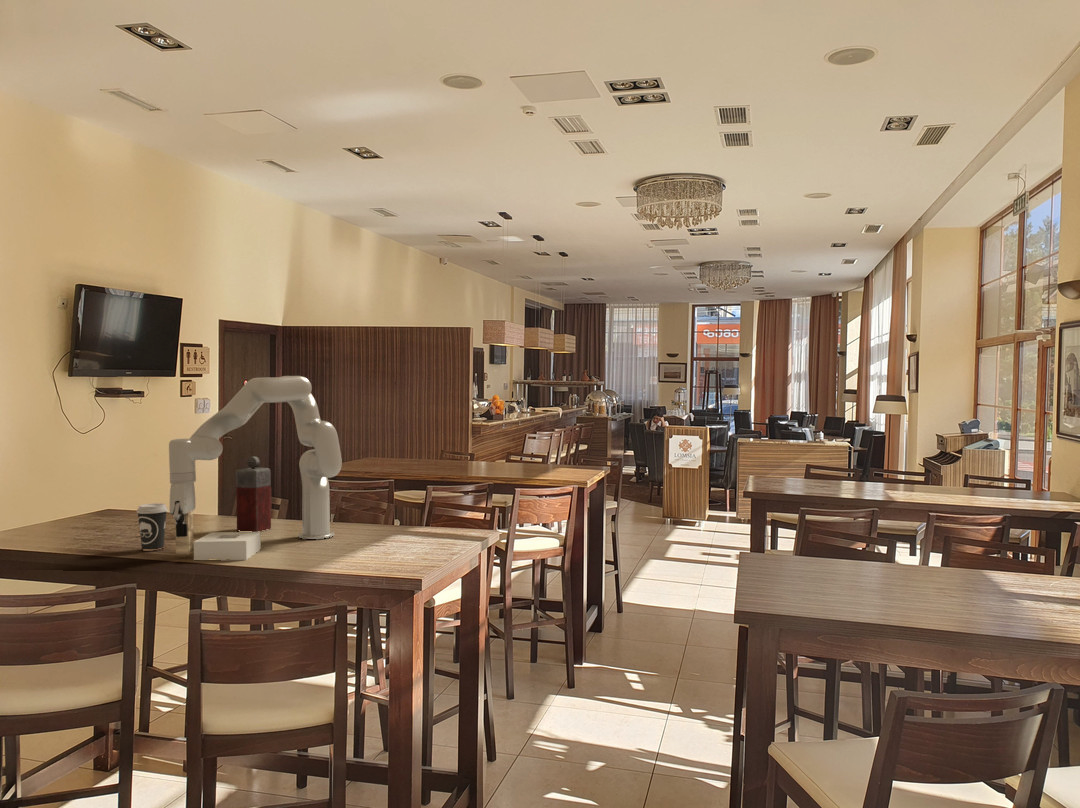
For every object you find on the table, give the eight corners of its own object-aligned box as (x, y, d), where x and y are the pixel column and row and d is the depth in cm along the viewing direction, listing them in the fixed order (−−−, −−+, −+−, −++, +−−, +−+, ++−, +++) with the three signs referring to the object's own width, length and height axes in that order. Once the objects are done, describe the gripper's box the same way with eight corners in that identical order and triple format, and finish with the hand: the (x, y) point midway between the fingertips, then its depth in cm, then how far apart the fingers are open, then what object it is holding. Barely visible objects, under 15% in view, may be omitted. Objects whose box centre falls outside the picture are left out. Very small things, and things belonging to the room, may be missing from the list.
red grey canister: (275, 527, 304) (274, 455, 304) (256, 532, 294) (256, 457, 293) (255, 526, 307) (254, 454, 306) (236, 531, 296) (235, 457, 295)
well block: (211, 550, 262) (211, 532, 262) (260, 549, 263) (260, 531, 263) (193, 561, 246) (193, 541, 246) (246, 559, 247) (246, 540, 247)
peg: (181, 551, 253) (179, 504, 252) (193, 551, 253) (192, 504, 253) (176, 554, 249) (174, 507, 248) (189, 553, 249) (187, 506, 249)
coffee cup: (169, 550, 262) (169, 505, 261) (137, 554, 257) (136, 508, 257) (167, 545, 270) (166, 502, 270) (136, 548, 265) (135, 504, 265)
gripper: (180, 474, 258) (182, 530, 259) (159, 481, 242) (161, 540, 242) (204, 474, 259) (205, 529, 259) (185, 480, 242) (187, 540, 243)
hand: (184, 534), depth 251 cm, fingers closed on peg, 4 cm apart
